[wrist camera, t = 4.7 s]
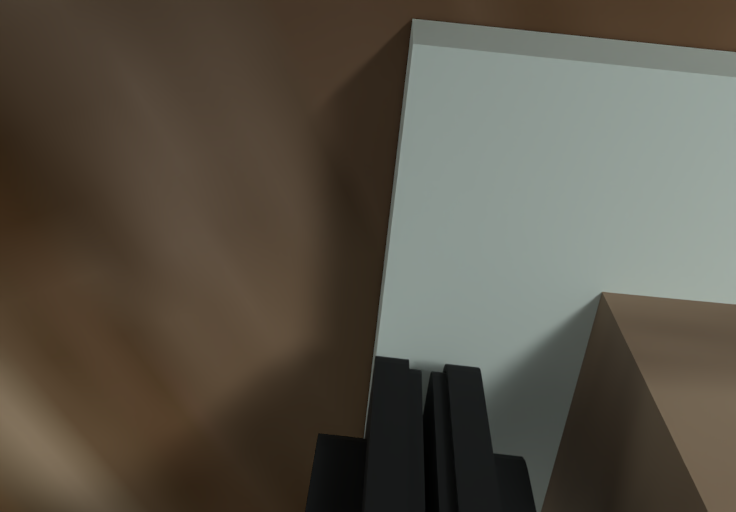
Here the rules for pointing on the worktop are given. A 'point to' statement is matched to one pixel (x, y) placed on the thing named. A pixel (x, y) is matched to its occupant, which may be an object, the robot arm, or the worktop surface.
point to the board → (549, 208)
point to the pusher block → (651, 411)
